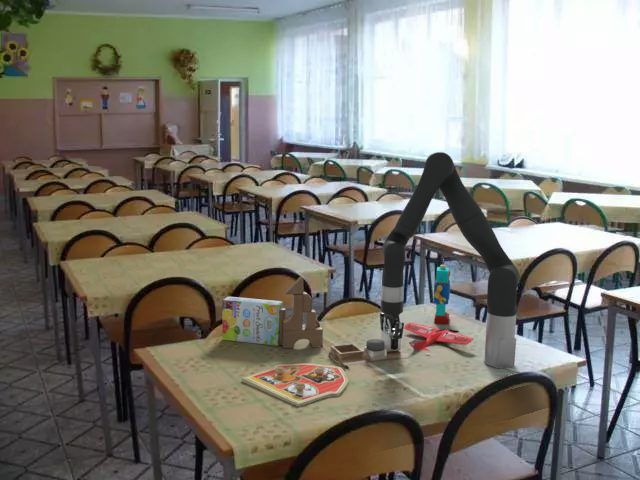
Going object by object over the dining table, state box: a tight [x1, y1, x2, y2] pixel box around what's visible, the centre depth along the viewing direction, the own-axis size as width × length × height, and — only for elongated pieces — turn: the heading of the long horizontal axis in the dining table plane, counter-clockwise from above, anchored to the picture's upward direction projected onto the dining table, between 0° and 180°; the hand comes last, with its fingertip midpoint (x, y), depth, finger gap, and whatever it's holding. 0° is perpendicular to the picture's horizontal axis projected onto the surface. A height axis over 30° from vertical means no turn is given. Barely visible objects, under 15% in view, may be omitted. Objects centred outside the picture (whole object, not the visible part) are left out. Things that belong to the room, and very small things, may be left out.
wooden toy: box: [278, 275, 324, 349], centre depth 259 cm, size 16×7×25 cm, turn 101°
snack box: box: [221, 296, 284, 347], centre depth 264 cm, size 21×6×15 cm, turn 74°
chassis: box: [328, 342, 413, 370], centre depth 250 cm, size 14×24×4 cm, turn 111°
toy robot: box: [433, 258, 451, 325], centre depth 291 cm, size 12×6×25 cm, turn 168°
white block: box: [380, 329, 402, 352], centre depth 254 cm, size 5×5×6 cm
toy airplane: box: [403, 322, 474, 352], centre depth 262 cm, size 27×27×5 cm
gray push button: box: [365, 338, 385, 351], centre depth 247 cm, size 6×6×5 cm
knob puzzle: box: [241, 362, 349, 407], centre depth 228 cm, size 29×30×4 cm
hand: (390, 346), depth 254 cm, fingers closed on white block, 5 cm apart
